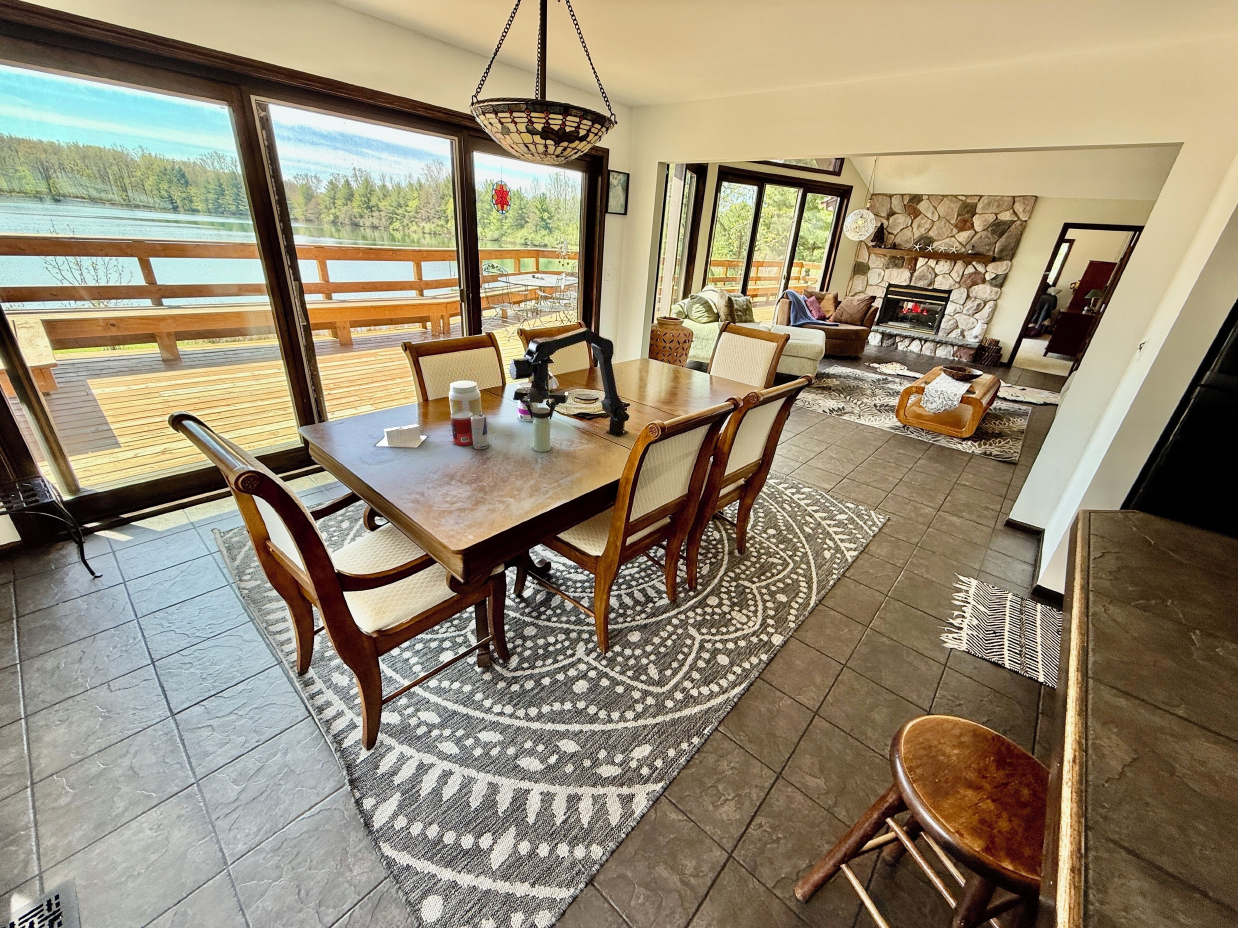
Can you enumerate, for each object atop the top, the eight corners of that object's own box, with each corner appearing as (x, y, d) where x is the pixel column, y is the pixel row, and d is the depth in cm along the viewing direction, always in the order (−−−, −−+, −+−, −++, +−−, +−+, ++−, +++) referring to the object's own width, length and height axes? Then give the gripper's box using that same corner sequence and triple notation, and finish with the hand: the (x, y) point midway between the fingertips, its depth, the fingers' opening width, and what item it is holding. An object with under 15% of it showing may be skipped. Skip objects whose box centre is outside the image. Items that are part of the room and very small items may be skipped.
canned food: (479, 440, 182) (477, 413, 178) (465, 447, 176) (462, 419, 171) (463, 436, 185) (461, 409, 181) (449, 443, 179) (445, 415, 174)
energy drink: (491, 445, 179) (489, 415, 174) (483, 450, 174) (480, 419, 169) (478, 443, 180) (476, 412, 175) (470, 448, 176) (467, 417, 171)
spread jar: (531, 392, 240) (530, 369, 235) (538, 386, 251) (537, 364, 246) (554, 394, 239) (553, 371, 234) (560, 388, 249) (560, 366, 244)
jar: (541, 443, 182) (540, 412, 177) (554, 448, 179) (553, 416, 174) (530, 448, 178) (529, 416, 172) (542, 453, 175) (541, 420, 169)
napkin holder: (427, 435, 184) (425, 421, 182) (417, 447, 174) (415, 432, 172) (387, 434, 184) (385, 420, 181) (375, 446, 173) (372, 431, 171)
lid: (541, 419, 169) (541, 414, 168) (528, 415, 172) (527, 410, 171) (554, 415, 174) (554, 410, 173) (540, 410, 177) (540, 406, 176)
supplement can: (534, 423, 202) (533, 388, 195) (515, 420, 203) (514, 386, 197) (541, 416, 209) (540, 383, 203) (523, 414, 210) (521, 381, 204)
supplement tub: (482, 418, 204) (478, 379, 197) (484, 428, 194) (480, 387, 187) (451, 420, 201) (447, 380, 193) (452, 430, 190) (447, 389, 183)
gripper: (507, 380, 160) (509, 424, 167) (562, 384, 159) (562, 428, 166) (516, 372, 170) (518, 414, 177) (568, 376, 169) (568, 417, 176)
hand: (541, 418), depth 173 cm, fingers closed on lid, 6 cm apart
